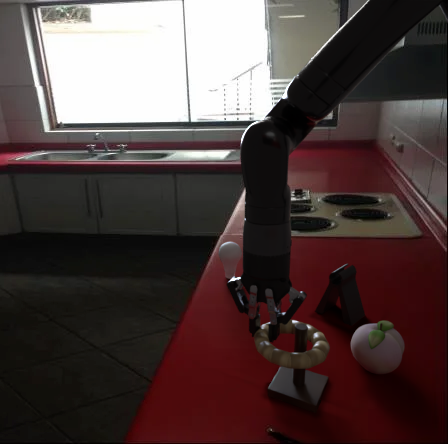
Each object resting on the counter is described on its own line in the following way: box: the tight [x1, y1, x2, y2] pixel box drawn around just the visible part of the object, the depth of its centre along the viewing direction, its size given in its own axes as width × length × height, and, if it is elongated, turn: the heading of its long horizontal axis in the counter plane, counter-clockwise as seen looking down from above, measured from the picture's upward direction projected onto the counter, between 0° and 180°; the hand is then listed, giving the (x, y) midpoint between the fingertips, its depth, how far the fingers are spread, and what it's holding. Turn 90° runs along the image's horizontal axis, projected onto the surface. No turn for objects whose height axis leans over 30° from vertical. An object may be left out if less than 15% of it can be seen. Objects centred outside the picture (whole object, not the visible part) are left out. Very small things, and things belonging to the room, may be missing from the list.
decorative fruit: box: [350, 320, 405, 375], centre depth 74 cm, size 9×8×10 cm
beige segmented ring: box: [253, 319, 331, 370], centre depth 70 cm, size 12×12×2 cm
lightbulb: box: [218, 241, 243, 280], centre depth 111 cm, size 6×6×11 cm
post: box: [267, 323, 329, 414], centre depth 70 cm, size 8×8×12 cm
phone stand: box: [314, 263, 366, 327], centre depth 90 cm, size 9×6×12 cm, turn 40°
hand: (264, 337), depth 72 cm, fingers closed on beige segmented ring, 2 cm apart
